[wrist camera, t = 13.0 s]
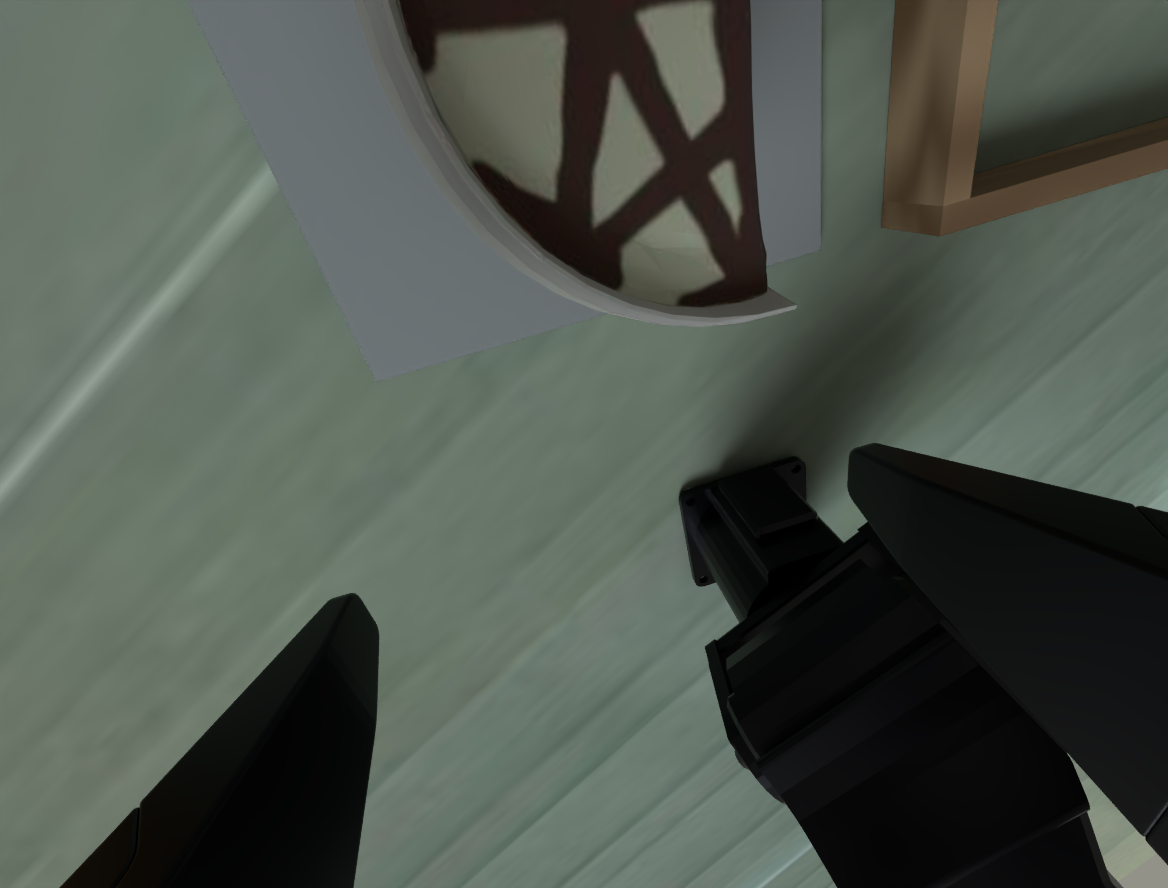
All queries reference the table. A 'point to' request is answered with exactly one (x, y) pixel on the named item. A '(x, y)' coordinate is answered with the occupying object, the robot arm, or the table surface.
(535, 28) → the food container
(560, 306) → the slate mat
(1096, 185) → the walnut frame
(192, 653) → the table surface
